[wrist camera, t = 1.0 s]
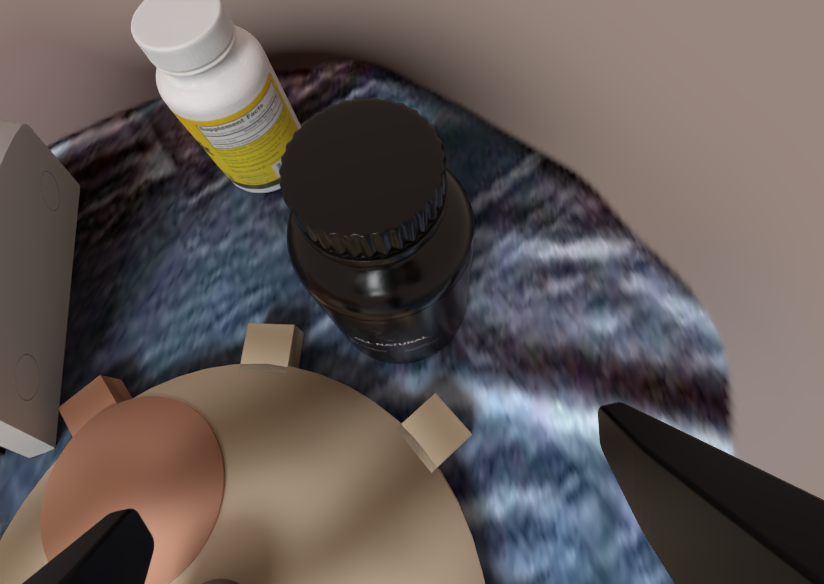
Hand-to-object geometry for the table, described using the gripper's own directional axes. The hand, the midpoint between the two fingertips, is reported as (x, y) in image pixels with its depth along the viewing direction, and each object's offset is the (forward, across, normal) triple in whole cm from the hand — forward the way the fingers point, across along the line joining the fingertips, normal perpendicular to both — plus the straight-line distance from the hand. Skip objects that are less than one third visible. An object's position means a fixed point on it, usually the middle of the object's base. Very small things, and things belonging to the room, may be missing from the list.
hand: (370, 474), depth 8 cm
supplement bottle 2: (+15, -1, +3) cm, 16 cm away
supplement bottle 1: (+23, +6, -5) cm, 24 cm away
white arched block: (+18, +19, 0) cm, 27 cm away
